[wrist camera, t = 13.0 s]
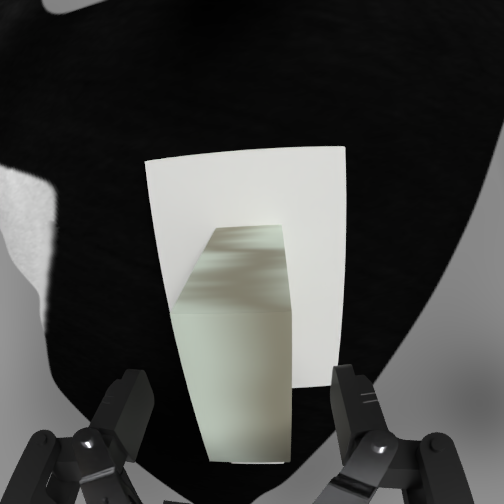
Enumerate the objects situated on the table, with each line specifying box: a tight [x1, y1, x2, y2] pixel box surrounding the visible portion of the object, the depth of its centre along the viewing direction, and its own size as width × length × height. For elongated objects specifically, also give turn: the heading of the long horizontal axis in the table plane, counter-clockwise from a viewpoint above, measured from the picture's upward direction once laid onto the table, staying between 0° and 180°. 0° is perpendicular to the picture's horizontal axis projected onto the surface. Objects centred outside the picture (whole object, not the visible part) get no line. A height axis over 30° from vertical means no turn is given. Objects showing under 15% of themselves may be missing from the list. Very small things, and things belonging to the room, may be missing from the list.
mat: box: [145, 146, 346, 388], centre depth 21 cm, size 12×18×1 cm, turn 4°
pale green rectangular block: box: [170, 224, 292, 463], centre depth 16 cm, size 4×9×10 cm, turn 4°
